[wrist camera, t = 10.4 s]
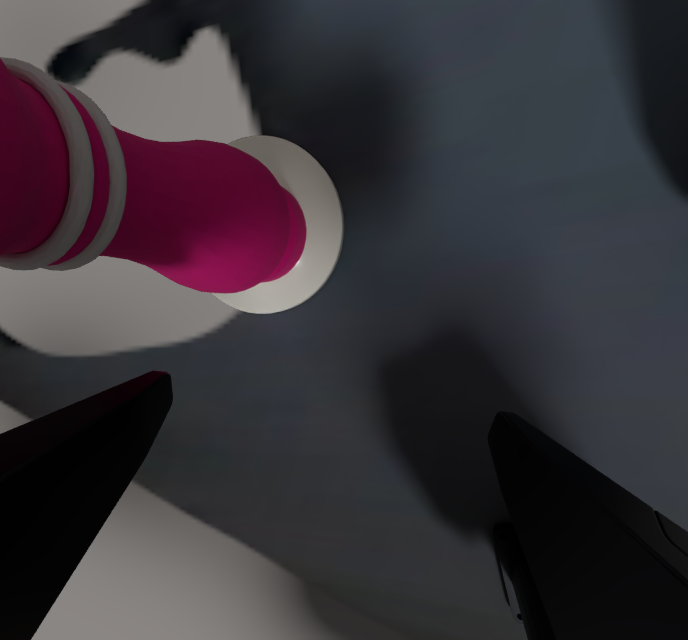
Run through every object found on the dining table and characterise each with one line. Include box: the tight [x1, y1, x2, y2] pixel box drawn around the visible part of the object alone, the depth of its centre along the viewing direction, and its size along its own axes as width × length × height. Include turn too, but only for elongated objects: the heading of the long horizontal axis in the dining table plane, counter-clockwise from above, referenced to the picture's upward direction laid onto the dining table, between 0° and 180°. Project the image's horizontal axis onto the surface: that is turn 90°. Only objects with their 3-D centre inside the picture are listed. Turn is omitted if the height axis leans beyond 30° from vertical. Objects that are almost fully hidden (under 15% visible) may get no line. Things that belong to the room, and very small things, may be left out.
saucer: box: [212, 135, 345, 314], centre depth 22 cm, size 11×11×1 cm
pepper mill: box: [0, 57, 307, 294], centre depth 12 cm, size 7×7×20 cm
